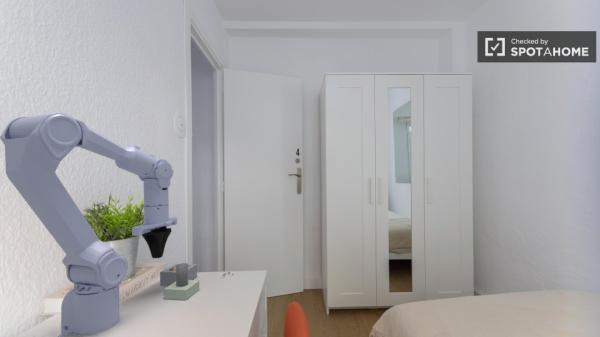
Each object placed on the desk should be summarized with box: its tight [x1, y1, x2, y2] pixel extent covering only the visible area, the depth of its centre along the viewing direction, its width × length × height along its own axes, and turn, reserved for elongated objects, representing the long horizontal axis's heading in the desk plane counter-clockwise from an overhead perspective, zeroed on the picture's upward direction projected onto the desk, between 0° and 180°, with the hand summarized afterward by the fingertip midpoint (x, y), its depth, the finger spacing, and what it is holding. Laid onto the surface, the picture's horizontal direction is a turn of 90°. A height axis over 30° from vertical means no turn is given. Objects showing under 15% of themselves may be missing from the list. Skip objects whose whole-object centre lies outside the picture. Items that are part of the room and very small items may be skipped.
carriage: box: [163, 262, 200, 301], centre depth 68 cm, size 6×6×7 cm
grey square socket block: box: [159, 263, 198, 287], centre depth 77 cm, size 7×7×5 cm
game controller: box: [221, 271, 234, 279], centre depth 80 cm, size 6×12×3 cm, turn 101°
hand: (157, 257), depth 70 cm, fingers closed
